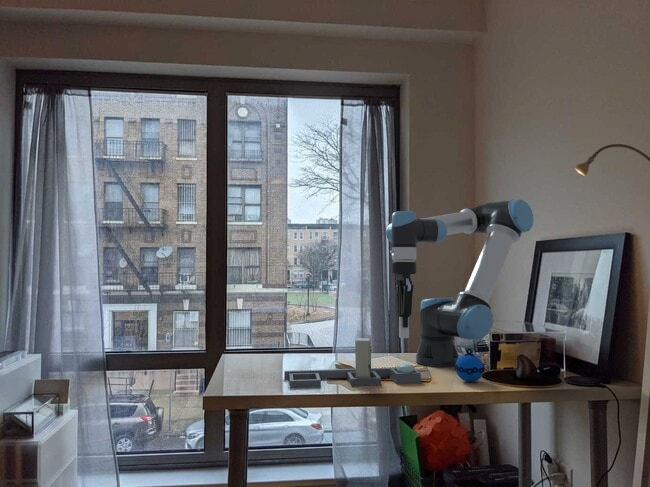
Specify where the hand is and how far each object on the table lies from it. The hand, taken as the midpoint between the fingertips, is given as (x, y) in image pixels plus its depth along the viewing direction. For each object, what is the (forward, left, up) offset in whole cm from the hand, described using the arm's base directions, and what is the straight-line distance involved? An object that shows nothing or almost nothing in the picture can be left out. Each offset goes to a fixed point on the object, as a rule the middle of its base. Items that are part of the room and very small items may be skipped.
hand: (404, 337), depth 150 cm
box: (+13, 0, -13) cm, 18 cm away
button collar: (0, 0, -13) cm, 13 cm away
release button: (0, 0, -11) cm, 11 cm away
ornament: (-19, +4, -13) cm, 24 cm away
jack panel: (+18, -1, -13) cm, 22 cm away
